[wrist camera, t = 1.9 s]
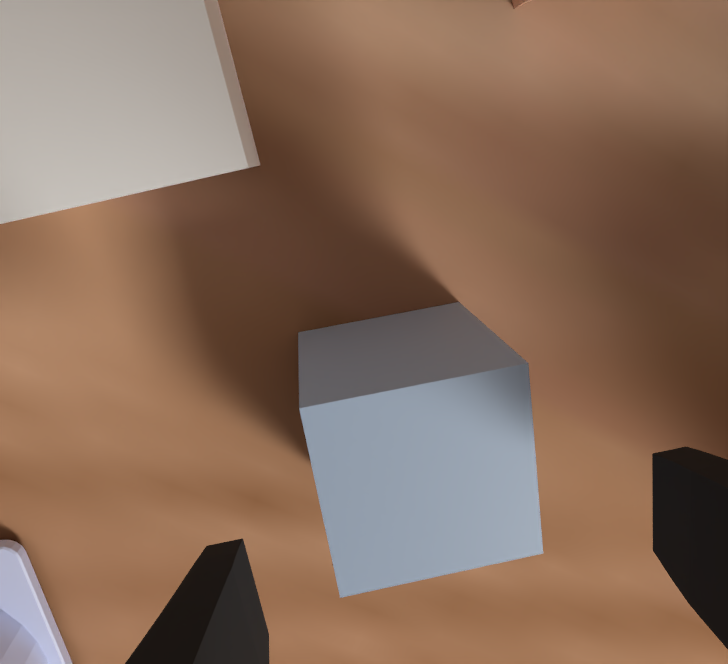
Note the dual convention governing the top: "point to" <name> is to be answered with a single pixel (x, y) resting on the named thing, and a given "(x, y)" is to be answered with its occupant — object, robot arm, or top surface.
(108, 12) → the white block
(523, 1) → the terracotta block
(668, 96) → the top surface
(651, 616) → the top surface
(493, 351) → the slate cube
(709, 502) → the robot arm
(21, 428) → the top surface
